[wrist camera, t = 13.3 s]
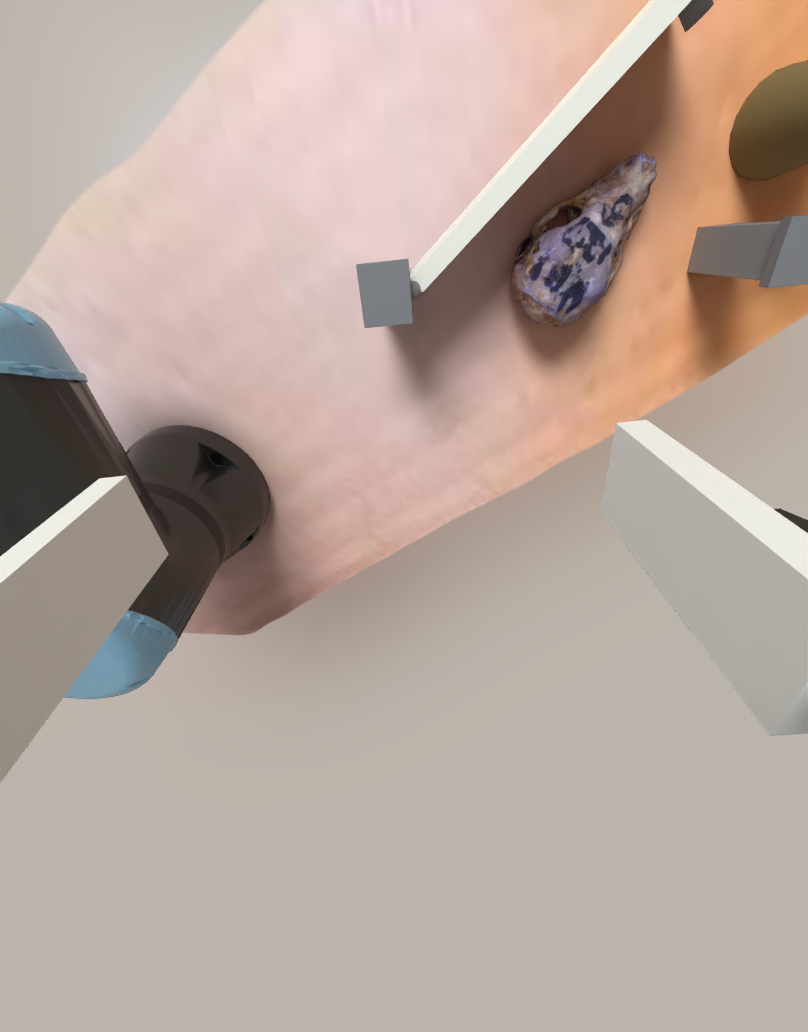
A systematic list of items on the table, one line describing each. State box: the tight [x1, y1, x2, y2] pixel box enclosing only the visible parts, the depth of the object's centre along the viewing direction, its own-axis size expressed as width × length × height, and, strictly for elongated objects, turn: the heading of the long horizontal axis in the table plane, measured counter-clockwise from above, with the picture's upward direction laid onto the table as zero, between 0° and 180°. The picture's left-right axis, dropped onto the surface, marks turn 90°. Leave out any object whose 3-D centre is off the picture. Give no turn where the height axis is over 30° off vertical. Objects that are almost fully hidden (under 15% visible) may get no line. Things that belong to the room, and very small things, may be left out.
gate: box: [409, 0, 714, 298], centre depth 27 cm, size 22×2×8 cm, turn 135°
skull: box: [510, 152, 657, 328], centre depth 31 cm, size 12×8×6 cm, turn 136°
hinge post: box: [356, 259, 413, 328], centre depth 30 cm, size 3×4×10 cm
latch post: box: [687, 215, 808, 288], centre depth 29 cm, size 3×4×10 cm
